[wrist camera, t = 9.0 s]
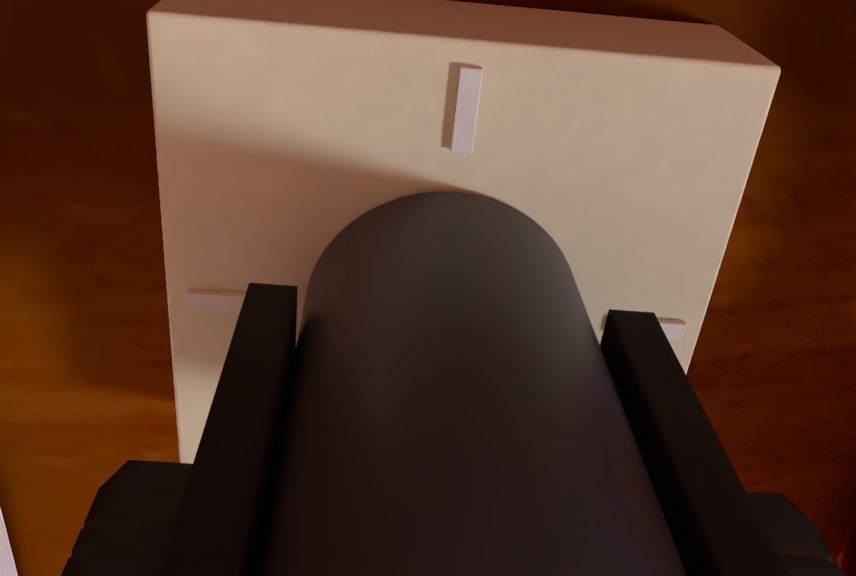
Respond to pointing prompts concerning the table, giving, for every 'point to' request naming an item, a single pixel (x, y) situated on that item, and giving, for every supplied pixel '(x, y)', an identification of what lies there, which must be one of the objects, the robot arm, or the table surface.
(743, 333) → the table surface
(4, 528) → the stepped bracket block
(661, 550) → the dial
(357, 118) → the dial panel
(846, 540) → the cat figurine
